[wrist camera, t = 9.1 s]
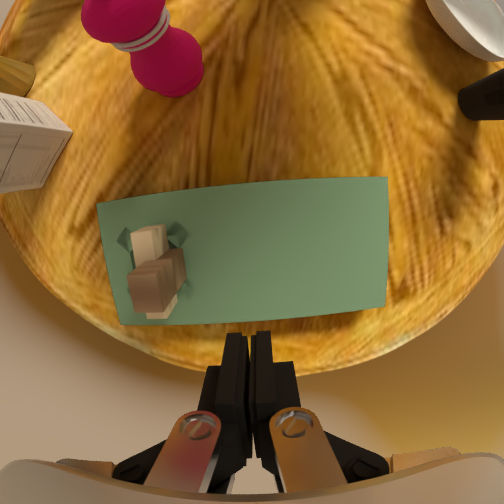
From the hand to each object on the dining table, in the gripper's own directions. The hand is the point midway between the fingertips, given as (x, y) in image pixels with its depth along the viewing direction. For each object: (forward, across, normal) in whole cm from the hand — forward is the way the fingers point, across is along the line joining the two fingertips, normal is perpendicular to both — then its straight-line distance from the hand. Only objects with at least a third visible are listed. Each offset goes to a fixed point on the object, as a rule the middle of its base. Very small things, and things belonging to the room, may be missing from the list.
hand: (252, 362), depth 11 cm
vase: (+23, +33, -28) cm, 49 cm away
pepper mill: (+22, +7, -20) cm, 31 cm away
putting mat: (+22, +1, +1) cm, 22 cm away
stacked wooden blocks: (+17, +9, +1) cm, 19 cm away
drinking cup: (+23, -32, -17) cm, 43 cm away
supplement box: (+22, +28, -16) cm, 40 cm away
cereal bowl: (+23, -34, -32) cm, 52 cm away
